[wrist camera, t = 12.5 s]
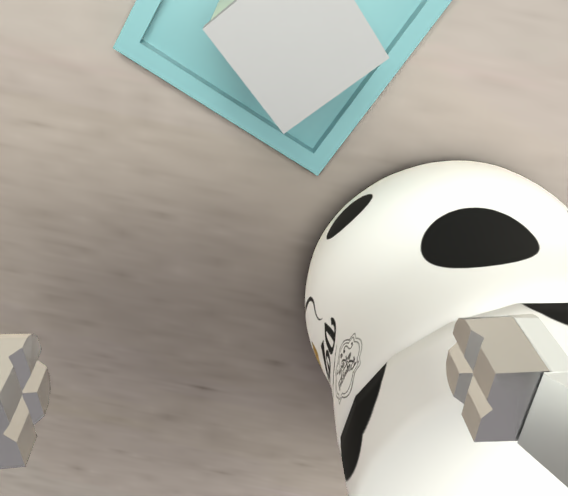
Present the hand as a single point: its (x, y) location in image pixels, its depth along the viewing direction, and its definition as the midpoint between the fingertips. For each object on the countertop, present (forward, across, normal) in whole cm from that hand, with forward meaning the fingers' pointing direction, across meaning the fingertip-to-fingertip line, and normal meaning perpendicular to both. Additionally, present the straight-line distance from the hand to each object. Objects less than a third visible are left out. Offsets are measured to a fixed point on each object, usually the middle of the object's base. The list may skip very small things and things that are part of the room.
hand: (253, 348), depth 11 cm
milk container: (+22, -12, +13) cm, 29 cm away
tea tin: (+22, -2, -3) cm, 22 cm away
